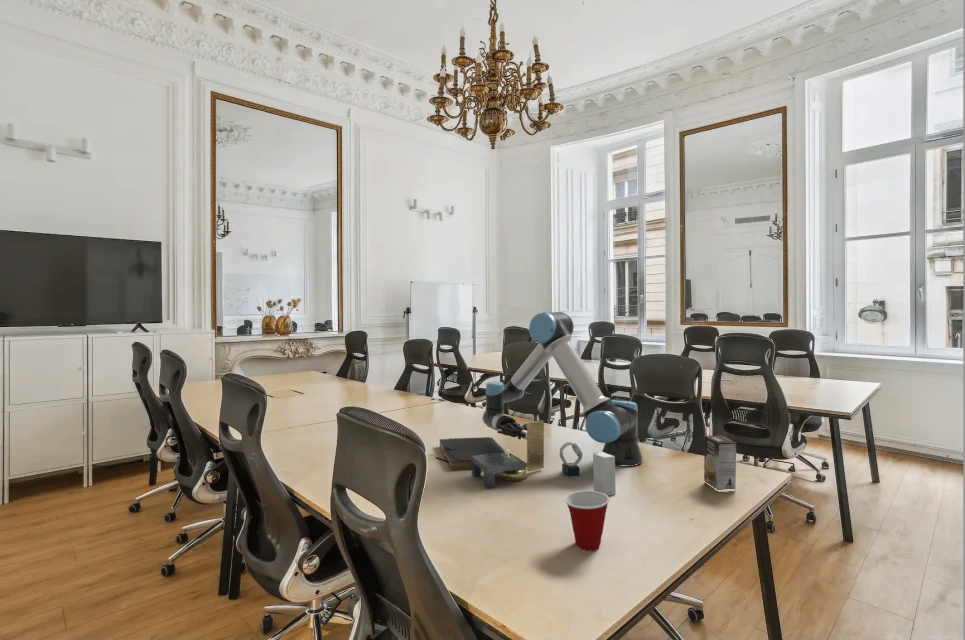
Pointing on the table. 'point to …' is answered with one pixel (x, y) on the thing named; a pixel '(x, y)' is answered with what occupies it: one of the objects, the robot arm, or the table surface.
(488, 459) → the levelling stand
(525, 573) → the table surface
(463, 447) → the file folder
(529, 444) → the brass panel with base
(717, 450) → the coffee box
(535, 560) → the table surface
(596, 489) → the skincare box
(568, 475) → the watch
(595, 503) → the plastic cup
